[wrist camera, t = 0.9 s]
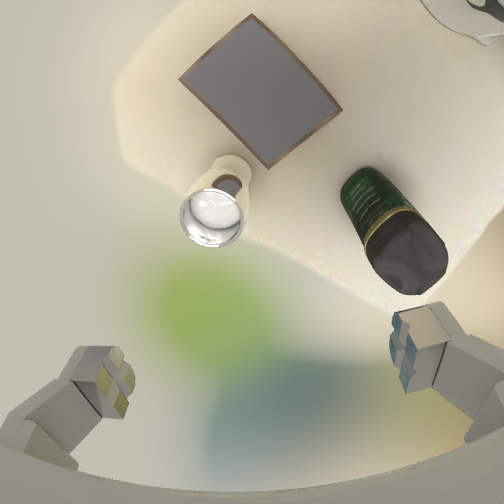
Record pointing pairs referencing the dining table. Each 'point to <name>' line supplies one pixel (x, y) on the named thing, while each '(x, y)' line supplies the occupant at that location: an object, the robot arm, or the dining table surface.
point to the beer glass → (218, 203)
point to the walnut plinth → (260, 91)
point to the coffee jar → (394, 234)
